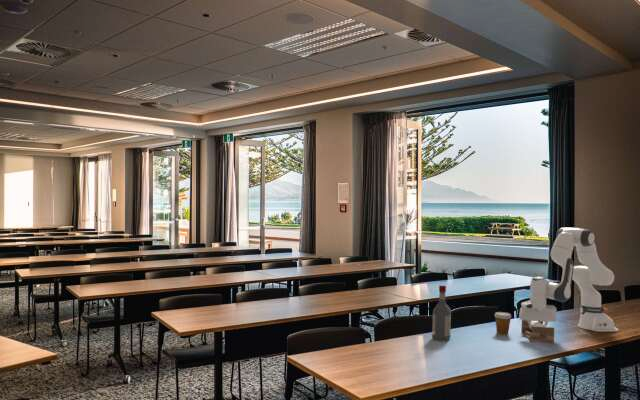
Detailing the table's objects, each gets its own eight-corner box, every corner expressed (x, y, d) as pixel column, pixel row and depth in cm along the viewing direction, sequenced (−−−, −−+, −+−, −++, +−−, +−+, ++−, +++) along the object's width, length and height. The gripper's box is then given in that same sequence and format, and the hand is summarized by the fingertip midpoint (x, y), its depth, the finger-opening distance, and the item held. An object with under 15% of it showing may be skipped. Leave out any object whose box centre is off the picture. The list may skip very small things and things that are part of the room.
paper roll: (527, 328, 293) (529, 318, 293) (537, 330, 292) (540, 321, 292) (535, 333, 280) (537, 323, 280) (545, 336, 280) (548, 326, 280)
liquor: (450, 338, 281) (452, 285, 281) (447, 342, 273) (449, 287, 273) (434, 335, 285) (436, 284, 285) (431, 339, 276) (432, 286, 277)
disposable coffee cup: (512, 336, 288) (512, 316, 288) (495, 335, 290) (495, 314, 290) (509, 332, 297) (509, 312, 297) (492, 331, 299) (493, 311, 299)
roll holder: (520, 332, 297) (521, 319, 297) (541, 333, 296) (541, 320, 296) (532, 342, 277) (533, 327, 277) (554, 343, 276) (555, 328, 276)
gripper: (554, 304, 289) (553, 327, 289) (518, 302, 290) (517, 326, 290) (558, 306, 283) (558, 330, 282) (522, 305, 284) (521, 329, 284)
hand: (537, 328), depth 286 cm, fingers closed on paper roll, 6 cm apart
